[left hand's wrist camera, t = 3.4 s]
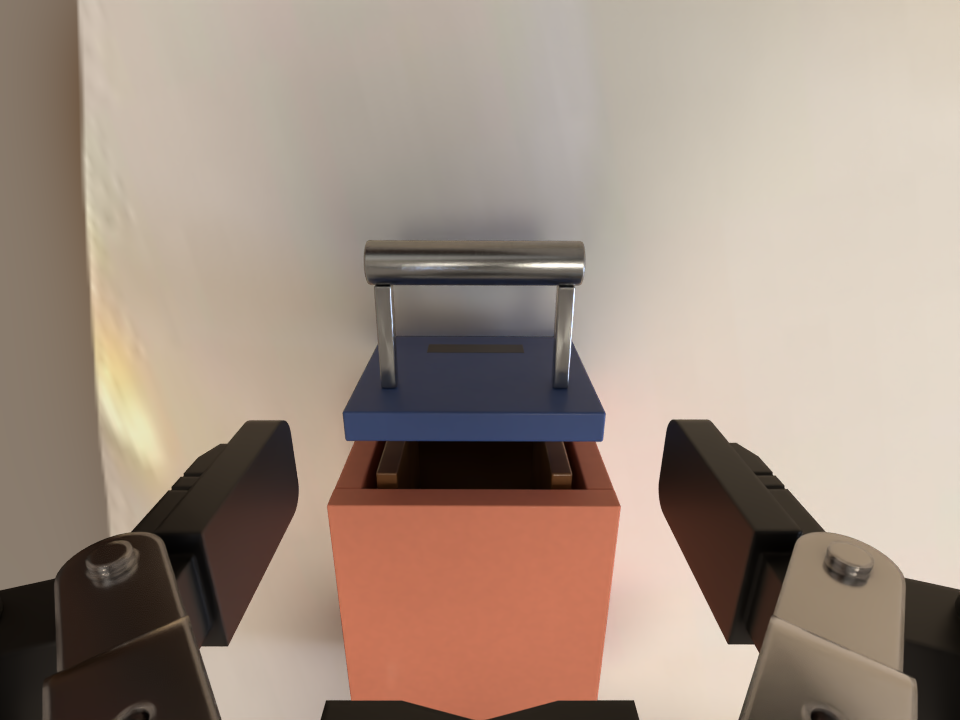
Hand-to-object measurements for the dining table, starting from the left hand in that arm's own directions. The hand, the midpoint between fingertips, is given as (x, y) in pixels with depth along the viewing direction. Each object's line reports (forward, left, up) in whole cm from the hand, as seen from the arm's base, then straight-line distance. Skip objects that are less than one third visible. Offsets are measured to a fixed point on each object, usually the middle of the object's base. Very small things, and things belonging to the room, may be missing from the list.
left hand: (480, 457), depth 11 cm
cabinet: (+15, -4, -16) cm, 22 cm away
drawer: (+8, -2, -15) cm, 17 cm away
